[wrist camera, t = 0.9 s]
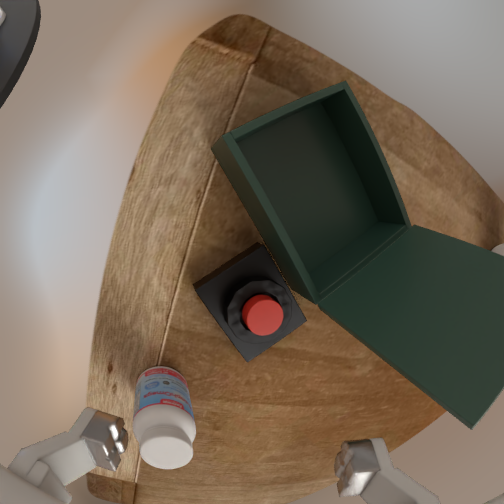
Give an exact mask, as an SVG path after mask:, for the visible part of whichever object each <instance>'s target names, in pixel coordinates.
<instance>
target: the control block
mask: <svg viewBox="0 0 504 504" xmlns="http://www.w3.org/2000/svg"><path fill="white" fill-rule="evenodd" d="M193 286H194V289H195V291H196V292H197V294H198V295H199V297H200V298H201V300H202V301H203V303H204V304H205V305H206V307H207V308H208V310H209V311H210V312H211V314H212V315H213V317H214V318H215V320H216V321H217V322H218V324H219V325H220V327H221V328H222V329H223V331H224V332H225V333H226V335H227V336H228V338H229V339H230V340H231V342H232V343H233V344H234V346H235V347H236V348H237V350H238V351H239V352H240V354H241V355H242V356H243V358H244V359H245V360H246V362H249V361H250V360H252V359H253V358H255V357H256V356H258V355H259V354H261V353H262V352H263V351H265V350H266V349H268V348H269V347H271V346H272V345H274V344H275V343H277V342H278V341H279V340H281V339H282V338H284V337H285V336H286V335H288V334H289V333H291V332H292V331H293V330H295V329H296V328H298V327H299V326H300V325H302V324H303V323H304V322H306V321H307V320H306V318H305V316H304V315H303V313H302V311H301V309H300V307H299V306H298V304H297V302H296V300H295V299H294V297H293V295H292V293H291V291H290V290H289V288H288V286H287V284H286V283H285V281H284V279H283V277H282V276H281V274H280V272H279V270H278V268H277V267H276V265H275V263H274V261H273V260H272V258H271V256H270V254H269V253H268V251H267V249H266V247H265V246H264V245H263V244H260V243H256V244H254V245H253V246H251V247H250V248H248V249H246V250H245V251H243V252H242V253H240V254H239V255H237V256H236V257H234V258H233V259H231V260H230V261H228V262H227V263H225V264H224V265H222V266H220V267H219V268H217V269H216V270H214V271H213V272H211V273H210V274H208V275H207V276H205V277H204V278H202V279H201V280H199V281H198V282H196V283H195V284H193ZM256 295H267V296H269V297H271V298H272V299H274V300H275V301H276V302H277V303H278V304H279V305H280V306H281V308H282V310H283V321H282V323H281V325H280V327H279V328H278V329H277V330H276V331H275V332H273V333H271V334H269V335H264V336H261V335H256V334H254V333H253V332H251V331H250V329H249V328H248V327H247V325H246V324H245V323H244V321H243V318H242V309H243V307H244V305H245V303H246V302H247V301H248V300H249V299H250V298H252V297H253V296H256Z"/></svg>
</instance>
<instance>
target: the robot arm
mask: <svg viewBox="0 0 504 504" xmlns="http://www.w3.org/2000/svg"><path fill="white" fill-rule="evenodd" d="M5 17H6V14H5V12H4V11H3V10H2V8H1V7H0V26H1V24H2V23H3V21H4V20H5ZM124 424H125V423H124V420H123V418H120V417H117V416H114V415H111V414H108V413H105V412H102V411H99V410H96V409H93V408H90V407H87V408H85V409H84V410H83V412H82V413H81V415H80V416H79V418H78V419H77V420H76V422H75V423H74V425H73V426H72V428H71V429H70V431H69V432H68V433H67V432H63V433H60V434H58V435H56V436H53V437H51V438H48V439H46V440H44V441H41V442H38V443H36V444H33V445H30V446H28V447H25V448H22V449H21V450H20V452H19V453H18V454H17V456H16V457H15V458H14V460H13V461H12V463H11V464H10V465H9V467H8V468H5V467H4V466H3V465H1V464H0V504H69V503H70V501H71V499H72V497H71V494H70V493H69V492H68V490H67V489H66V488H65V487H64V486H66V485H68V484H69V483H71V482H73V481H74V480H76V479H78V478H79V477H81V476H82V475H84V474H86V473H87V472H89V471H90V470H92V469H93V468H95V467H96V466H99V467H102V468H105V469H108V470H111V471H115V472H116V470H117V467H118V465H119V463H120V461H121V458H120V454H122V453H124V452H125V450H126V448H127V445H128V433H127V431H126V430H125V429H124V428H123V426H124ZM334 470H335V475H336V476H337V477H338V478H340V479H339V481H338V482H337V487H338V493H339V497H344V496H354V495H360V496H361V497H362V498H363V500H364V501H365V502H366V503H367V504H440V501H439V498H438V496H437V495H435V494H434V493H432V492H431V491H429V490H428V489H426V488H425V487H424V486H422V485H421V484H419V483H418V482H416V481H415V480H414V479H412V478H411V477H409V476H408V475H407V474H405V473H404V472H402V471H401V470H400V469H398V468H394V467H393V464H392V461H391V458H390V455H389V453H388V450H387V447H386V444H385V442H384V439H383V438H373V439H361V440H350V441H344V442H343V443H342V445H341V451H340V452H339V453H337V456H336V458H335V464H334ZM484 504H504V493H503V494H501V495H499V496H498V497H496V498H494V499H492V500H490V501H488V502H486V503H484Z"/></svg>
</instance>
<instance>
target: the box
mask: <svg viewBox="0 0 504 504" xmlns="http://www.w3.org/2000/svg"><path fill="white" fill-rule="evenodd" d="M211 150H212V152H213V153H214V155H215V157H216V159H217V160H218V162H219V164H220V165H221V167H222V169H223V170H224V172H225V174H226V176H227V177H228V179H229V181H230V182H231V184H232V186H233V188H234V189H235V191H236V193H237V195H238V196H239V198H240V200H241V201H242V203H243V205H244V207H245V208H246V210H247V212H248V214H249V215H250V217H251V219H252V221H253V222H254V224H255V226H256V227H257V229H258V231H259V233H260V234H261V236H262V238H263V240H264V241H265V243H266V245H267V247H268V248H269V250H270V252H271V254H272V256H273V257H274V259H275V261H276V263H277V264H278V266H279V268H280V270H281V271H282V273H283V275H284V277H285V279H286V280H287V282H288V284H289V286H290V287H291V289H292V290H293V291H295V292H296V293H298V294H300V295H301V296H303V297H304V298H306V299H308V300H309V301H311V302H312V303H314V304H316V305H317V304H318V303H319V302H320V301H322V300H323V299H324V298H326V297H327V296H328V295H329V294H331V293H332V292H333V291H335V290H336V289H337V288H339V287H340V286H341V285H342V284H344V283H345V282H346V281H347V280H349V279H350V278H351V277H353V276H354V275H355V274H356V273H358V272H359V271H360V270H361V269H362V268H364V267H365V266H366V265H367V264H369V263H370V262H371V261H372V260H373V259H375V258H376V257H377V256H378V255H380V254H381V253H382V252H383V251H384V250H385V249H387V248H388V247H389V246H390V245H391V244H393V243H394V242H395V241H396V240H397V239H398V238H399V237H401V236H402V235H403V234H404V233H405V232H406V231H407V230H409V229H410V228H411V227H412V226H411V223H410V220H409V217H408V215H407V212H406V209H405V206H404V203H403V201H402V198H401V195H400V193H399V190H398V188H397V185H396V183H395V180H394V178H393V175H392V173H391V170H390V168H389V166H388V163H387V161H386V159H385V157H384V154H383V152H382V150H381V148H380V145H379V143H378V141H377V139H376V137H375V135H374V133H373V131H372V129H371V127H370V125H369V123H368V121H367V119H366V117H365V115H364V113H363V111H362V109H361V107H360V105H359V103H358V101H357V99H356V98H355V96H354V94H353V92H352V90H351V89H350V87H349V85H348V83H347V82H346V81H343V82H341V83H338V84H335V85H333V86H330V87H328V88H325V89H322V90H320V91H317V92H315V93H312V94H310V95H308V96H305V97H303V98H300V99H298V100H296V101H293V102H291V103H289V104H287V105H284V106H282V107H280V108H278V109H275V110H273V111H271V112H269V113H267V114H265V115H262V116H260V117H258V118H256V119H254V120H252V121H250V122H248V123H246V124H244V125H242V126H240V127H238V128H236V129H234V130H232V131H230V132H228V133H226V134H224V135H222V136H221V137H220V139H219V140H218V141H217V142H216V143H215V144H214V145H213V147H212V148H211Z"/></svg>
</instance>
